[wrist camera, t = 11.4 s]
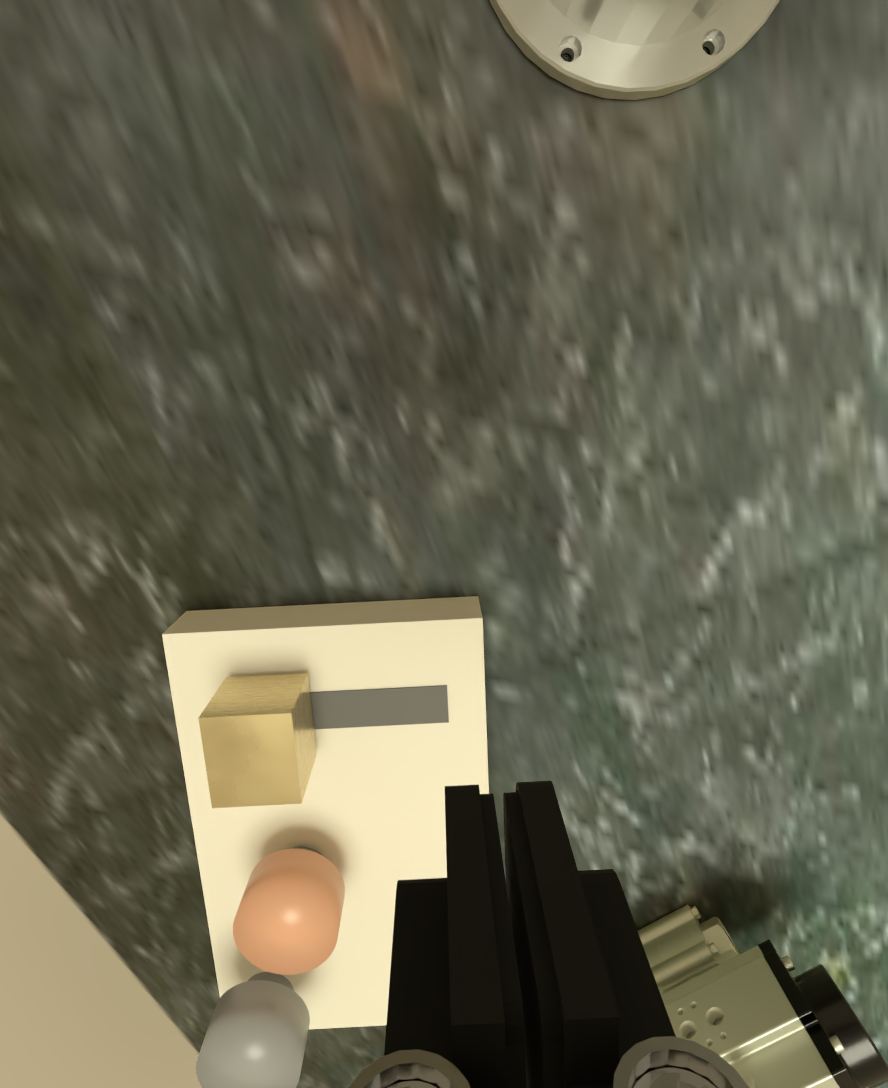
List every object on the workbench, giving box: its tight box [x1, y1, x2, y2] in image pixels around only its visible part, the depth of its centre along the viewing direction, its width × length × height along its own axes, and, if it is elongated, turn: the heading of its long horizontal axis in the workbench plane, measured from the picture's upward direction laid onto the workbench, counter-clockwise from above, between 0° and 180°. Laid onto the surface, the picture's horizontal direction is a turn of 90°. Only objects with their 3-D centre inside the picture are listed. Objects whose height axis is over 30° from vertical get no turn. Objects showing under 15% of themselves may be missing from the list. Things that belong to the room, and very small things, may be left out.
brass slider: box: [198, 673, 317, 808], centre depth 28 cm, size 4×4×4 cm
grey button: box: [196, 972, 310, 1088], centre depth 31 cm, size 4×4×4 cm
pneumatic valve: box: [638, 904, 888, 1088], centre depth 32 cm, size 6×12×12 cm, turn 123°
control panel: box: [162, 596, 489, 1029], centre depth 34 cm, size 14×22×3 cm, turn 3°
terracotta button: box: [233, 847, 345, 975], centre depth 30 cm, size 4×4×4 cm
